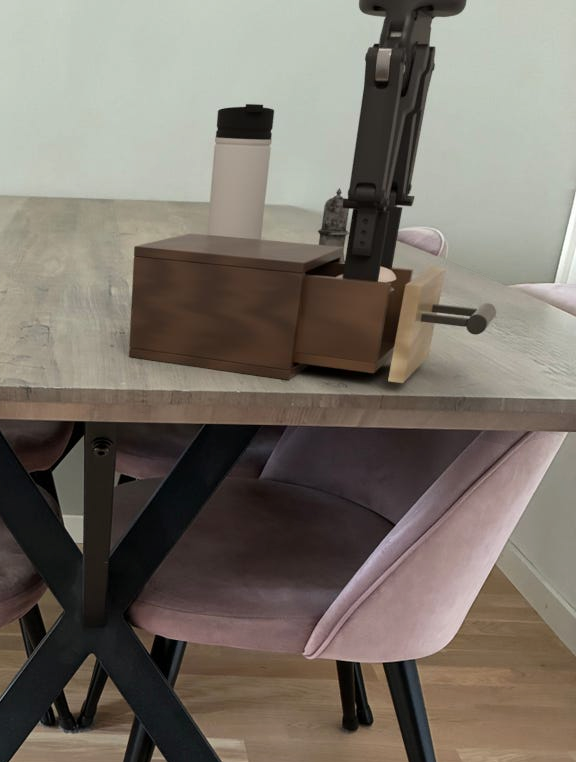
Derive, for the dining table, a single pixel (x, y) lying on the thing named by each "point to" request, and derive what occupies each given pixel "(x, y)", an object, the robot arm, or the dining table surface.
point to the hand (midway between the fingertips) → (364, 293)
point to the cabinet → (222, 302)
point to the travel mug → (240, 171)
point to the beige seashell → (383, 276)
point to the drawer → (376, 320)
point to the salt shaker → (334, 223)
